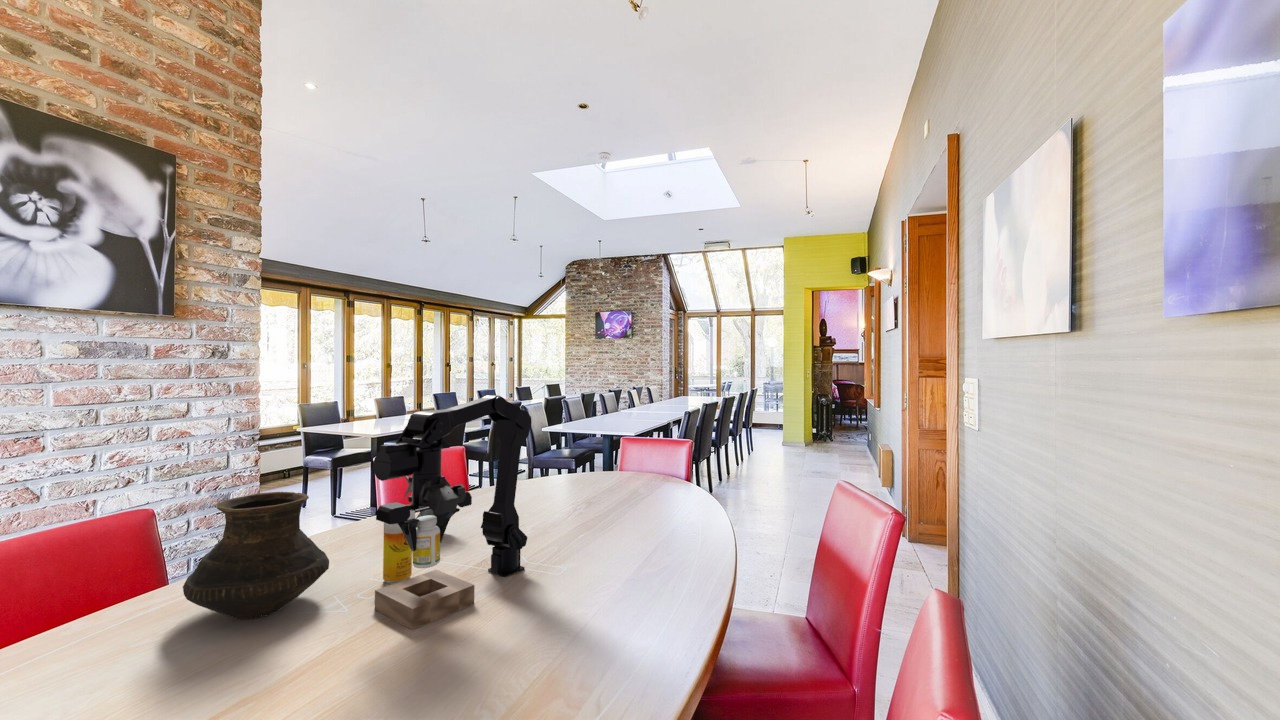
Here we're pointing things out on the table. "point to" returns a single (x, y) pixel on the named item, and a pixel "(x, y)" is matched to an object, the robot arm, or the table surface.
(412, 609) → the socket block
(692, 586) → the table surface
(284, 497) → the ceramic pot
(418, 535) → the supplement bottle
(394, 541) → the beer can
